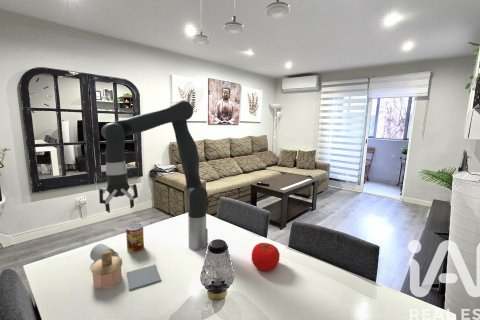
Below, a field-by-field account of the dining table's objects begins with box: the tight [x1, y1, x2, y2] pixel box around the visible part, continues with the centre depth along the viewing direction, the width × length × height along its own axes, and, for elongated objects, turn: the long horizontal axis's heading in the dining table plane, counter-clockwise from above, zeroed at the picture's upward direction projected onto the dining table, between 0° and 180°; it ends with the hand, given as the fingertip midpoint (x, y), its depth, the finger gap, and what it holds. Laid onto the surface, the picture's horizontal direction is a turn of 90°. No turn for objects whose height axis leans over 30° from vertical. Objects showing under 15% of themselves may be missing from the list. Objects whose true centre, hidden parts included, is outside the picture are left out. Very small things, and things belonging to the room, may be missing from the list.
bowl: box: [92, 266, 123, 290], centre depth 97 cm, size 10×10×6 cm
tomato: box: [251, 242, 281, 272], centre depth 109 cm, size 14×13×10 cm
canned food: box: [125, 222, 145, 254], centre depth 121 cm, size 8×8×12 cm
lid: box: [90, 250, 123, 275], centre depth 96 cm, size 11×11×6 cm
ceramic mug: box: [89, 243, 119, 262], centre depth 111 cm, size 11×8×8 cm
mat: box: [126, 264, 162, 291], centre depth 100 cm, size 12×12×1 cm
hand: (120, 209), depth 100 cm, fingers open, 8 cm apart
